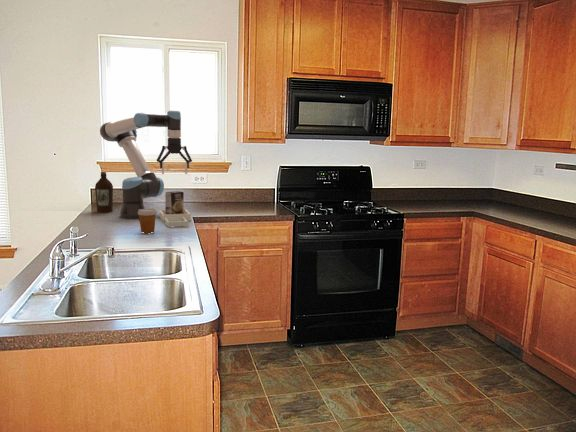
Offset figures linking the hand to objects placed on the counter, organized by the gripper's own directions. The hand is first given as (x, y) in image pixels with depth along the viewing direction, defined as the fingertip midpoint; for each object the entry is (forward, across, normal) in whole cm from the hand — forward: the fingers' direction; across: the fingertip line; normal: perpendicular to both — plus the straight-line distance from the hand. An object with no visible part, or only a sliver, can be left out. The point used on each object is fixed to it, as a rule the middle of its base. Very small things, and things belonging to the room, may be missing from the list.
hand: (174, 174), depth 293 cm
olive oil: (+27, -38, +34) cm, 58 cm away
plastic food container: (+27, 0, -1) cm, 27 cm away
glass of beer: (+27, -20, -38) cm, 51 cm away
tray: (+26, -3, -20) cm, 33 cm away
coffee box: (+27, 0, -1) cm, 27 cm away
